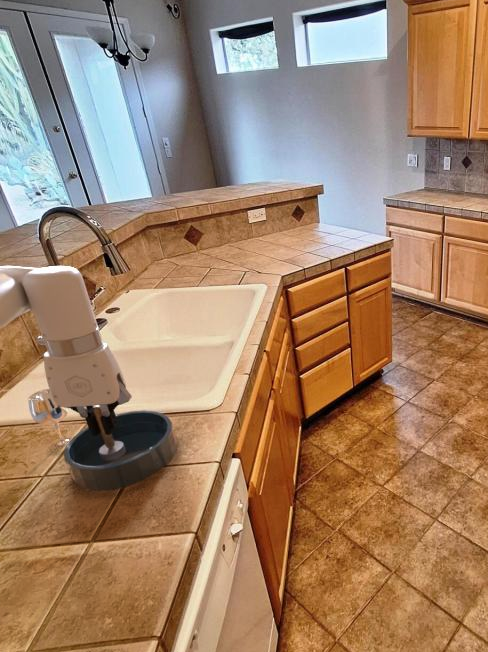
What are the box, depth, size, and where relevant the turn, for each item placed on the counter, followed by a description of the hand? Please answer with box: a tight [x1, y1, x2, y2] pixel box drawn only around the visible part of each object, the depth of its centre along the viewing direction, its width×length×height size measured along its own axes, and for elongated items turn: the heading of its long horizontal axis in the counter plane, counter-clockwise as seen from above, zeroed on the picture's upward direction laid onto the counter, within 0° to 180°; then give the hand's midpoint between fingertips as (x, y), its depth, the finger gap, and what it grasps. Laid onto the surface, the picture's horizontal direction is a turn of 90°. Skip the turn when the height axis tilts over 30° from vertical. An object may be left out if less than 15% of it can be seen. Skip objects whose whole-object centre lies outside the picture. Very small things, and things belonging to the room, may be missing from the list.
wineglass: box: [28, 388, 70, 446], centre depth 85 cm, size 6×6×12 cm
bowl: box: [63, 409, 178, 492], centre depth 83 cm, size 18×18×6 cm
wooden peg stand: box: [93, 405, 126, 461], centre depth 79 cm, size 4×4×11 cm
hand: (105, 430), depth 79 cm, fingers closed on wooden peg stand, 1 cm apart
